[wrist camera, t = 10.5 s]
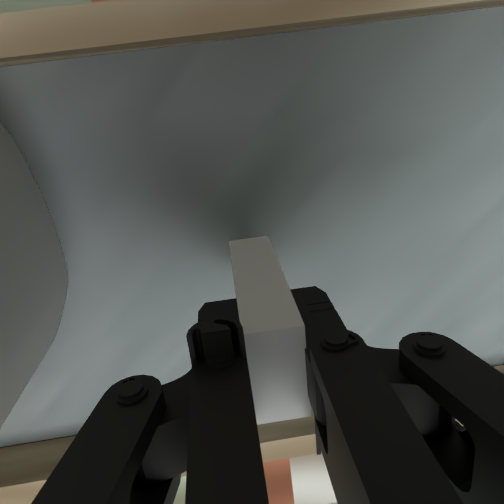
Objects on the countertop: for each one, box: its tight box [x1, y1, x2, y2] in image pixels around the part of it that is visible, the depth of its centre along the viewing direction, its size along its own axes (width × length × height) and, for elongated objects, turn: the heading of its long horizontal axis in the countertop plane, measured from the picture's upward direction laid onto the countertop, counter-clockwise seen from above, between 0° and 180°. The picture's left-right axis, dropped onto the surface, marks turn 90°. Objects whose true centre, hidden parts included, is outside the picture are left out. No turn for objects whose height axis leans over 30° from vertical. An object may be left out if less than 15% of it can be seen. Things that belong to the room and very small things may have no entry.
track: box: [0, 0, 504, 504], centre depth 16 cm, size 32×38×5 cm
